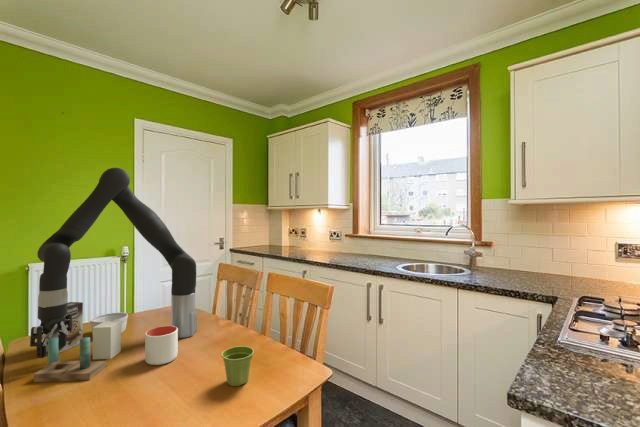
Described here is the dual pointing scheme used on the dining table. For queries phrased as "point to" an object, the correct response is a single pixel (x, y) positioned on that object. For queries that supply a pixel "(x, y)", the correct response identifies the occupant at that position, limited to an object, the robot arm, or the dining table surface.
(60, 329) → the robot arm
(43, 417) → the dining table surface
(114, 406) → the dining table surface
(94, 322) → the ramekin
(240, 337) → the dining table surface
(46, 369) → the board
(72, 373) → the board
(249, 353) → the plant pot
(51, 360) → the pin
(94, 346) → the block
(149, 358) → the cup
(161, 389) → the dining table surface
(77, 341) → the coffee box
